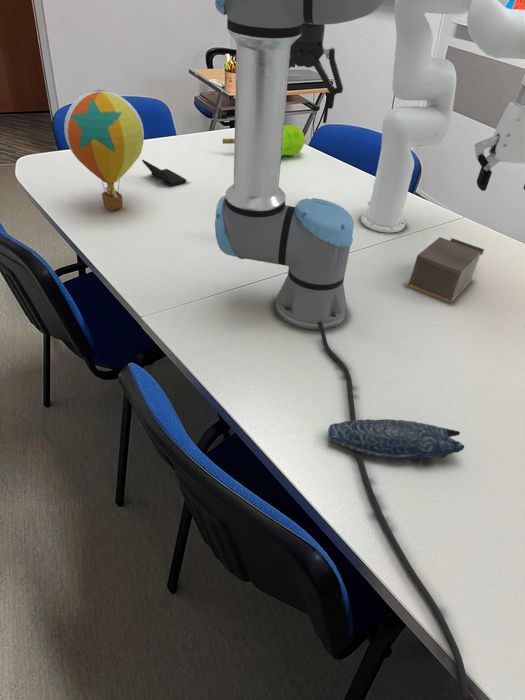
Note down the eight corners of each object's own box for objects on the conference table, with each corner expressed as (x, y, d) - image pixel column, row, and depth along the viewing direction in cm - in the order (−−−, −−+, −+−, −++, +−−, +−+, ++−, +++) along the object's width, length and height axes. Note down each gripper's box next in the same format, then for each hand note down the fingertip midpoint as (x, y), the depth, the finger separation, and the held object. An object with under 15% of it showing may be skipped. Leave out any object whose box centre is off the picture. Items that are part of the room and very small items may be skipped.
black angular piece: (190, 175, 164) (173, 153, 156) (179, 193, 163) (161, 172, 155) (166, 170, 170) (147, 148, 162) (155, 188, 169) (136, 167, 161)
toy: (64, 203, 145) (44, 85, 127) (127, 189, 156) (117, 79, 137) (97, 229, 134) (80, 105, 116) (162, 213, 145) (156, 96, 126)
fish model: (462, 473, 80) (472, 452, 77) (326, 456, 81) (331, 434, 78) (454, 441, 86) (463, 420, 82) (327, 425, 86) (331, 403, 83)
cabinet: (430, 266, 133) (439, 236, 127) (470, 281, 128) (481, 251, 123) (408, 286, 124) (417, 255, 119) (450, 303, 119) (461, 271, 114)
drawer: (445, 253, 137) (452, 231, 133) (480, 266, 133) (488, 243, 129) (417, 278, 125) (424, 255, 121) (453, 293, 121) (462, 269, 117)
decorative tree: (219, 118, 187) (300, 118, 192) (219, 148, 194) (297, 147, 199) (226, 133, 174) (312, 132, 179) (226, 164, 180) (309, 163, 185)
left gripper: (363, 25, 122) (347, 120, 135) (259, 14, 124) (253, 108, 137) (362, 29, 116) (345, 128, 129) (253, 17, 118) (248, 115, 132)
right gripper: (575, 97, 98) (538, 186, 108) (485, 89, 97) (457, 180, 107) (595, 107, 92) (554, 200, 102) (499, 99, 91) (468, 194, 101)
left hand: (298, 118), depth 133 cm, fingers open, 13 cm apart
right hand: (504, 190), depth 105 cm, fingers open, 9 cm apart
